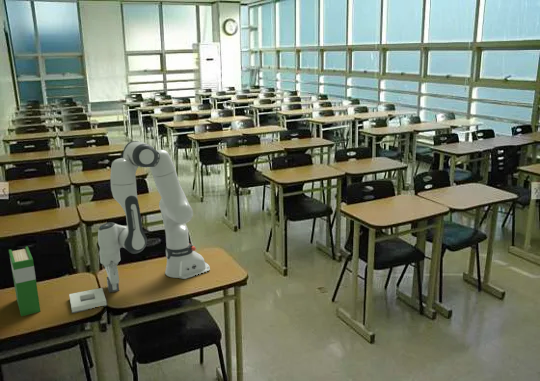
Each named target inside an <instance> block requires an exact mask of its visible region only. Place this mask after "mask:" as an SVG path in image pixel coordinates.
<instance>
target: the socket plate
mask: <svg viewBox="0 0 540 381" xmlns="http://www.w3.org/2000/svg"><path fill="white" fill-rule="evenodd" d="M68 295H69V302H70V308H71V314H76V313H81V312H84V311H89V310H88V309H90V310H93V309H92V308H94V309H96V308H95V307H98V306H104V307H107V306H108V305H107V299H106V296H105V293H104V289H103V287H100V288H93V289H89V290H85V291H78V292H74V293H69V294H68Z"/></svg>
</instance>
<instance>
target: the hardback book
mask: <svg viewBox="0 0 540 381" xmlns="http://www.w3.org/2000/svg"><path fill="white" fill-rule="evenodd" d="M8 254H9V259H10V265H11V272H12V273H11V274H12V278H13V286H14V292H15V297H16V302H17V305H18V310H19V314H20V316H21V317H25V316H28V315H33V314H36V313H39V312H41V307H40V306H41V305H40V298H39V292H38V285H37V284H38V283H37V278H36V271H35V265H34V259H33V256H32V254H31V251H30V248H29V247H28V246H27V245H26V246H25V248H22V249H17V250H12V249H8Z"/></svg>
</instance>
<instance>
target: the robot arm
mask: <svg viewBox="0 0 540 381" xmlns="http://www.w3.org/2000/svg"><path fill="white" fill-rule="evenodd" d="M138 168H149V169H150V171H151V175H152V178H153V181H154V184H155V187H156V190H157V192H158V193H159V196H160V198H161V199H160V200H159V202H158V206H159V210H160V212H161V218H162V224H163V225H164V226H163V228H164V232H165V243H166V246H165V257H166V266H165V272H164V274H165V275H166V276H167V277H168V278H169V277H170V278H174V279H175V278H176V279H178V278H179V279H182V280H185V279H189V278H192V277H196V276H199V275H202V274H201V273H203V274H205V273H204V272H206V273H208V272H207V271H209V270H210V271H211V268H210V265H209V264H208V263H207V262H205V258H204V257H203V255H202V254H200V253H198V252H197V251H196V250H197V248H196V246H194V245H193V244H191V243H190V240H189V229H188V226H187V223H188V222H190V221H191V220H192V218H193V216H194V210H193V208H192V206H191V205H190V202H189V200H188V198H187V196H186V193H185V192H184V189H183V188H182V185H181V182H180V180H179V179H180V178H179V176H178V172H177V171H176V167H175V163H174V162H173V160H172V158H171V155H170V153H169V152H168V151H167V150H165V149H155V148H154V146H152V145H151V144H148V143H147V142H144V141H138V140H132V141H129V142H128V143H126V145H125V146H124V148H123V151H122V153H121V154H120V158H116V159H114V160H113V161H112V162H111V167H110V175H109V176H110V178H109V179H110V191H111V194H112V197H113V199H114V200H115V201H116V202H117V203H118V204H119V205H120V207H121V208H122V210H123V212H124V214H125V218H126V220H125V221H126V225H121V224H118V223H115V222H105V223H103V224H101V225H100V226H99V227H98V231H97V243H98V246H99V253H98V254H99V260H100V261H99V262H100V264H101V265H103V267H104V269H105V271H106V274H107V277H109V280H110V283H111V284H112V289H113V290H116V289H117V283H120V277H119V270H118V266H117V265H118V264H119V262H120V261H121V252H120V250H121V248H124V249H125V250H127V252H129V253H131V254H134V255H135V254H139V253H141V252H142V251H143V250H144V249H145V248H146V246H147V244H148V238H147V235H146V234H145V232H144V229H143V223H142V217H141V215H142V214H141V208H140V204H139V198H138V193H137V191H138V190H137V189H138V188H137V177H136V174H137V170H138ZM210 271H209V272H210ZM198 274H199V275H198ZM195 275H196V276H195Z"/></svg>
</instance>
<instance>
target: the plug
mask: <svg viewBox="0 0 540 381" xmlns="http://www.w3.org/2000/svg"><path fill="white" fill-rule="evenodd" d="M106 283H107V284H106V285H107V290H108V293H114V292H118V291H120V285H119V283H120V282H119V283H117V289H116V290H113V289H112V284H111V283H110V280H109V277H108V276H106Z"/></svg>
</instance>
